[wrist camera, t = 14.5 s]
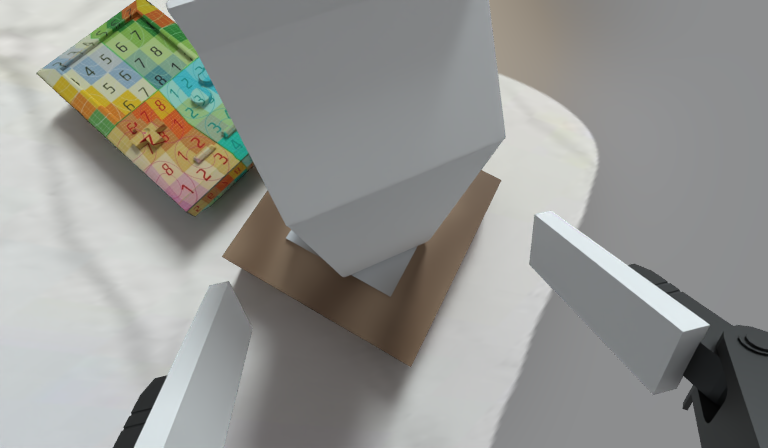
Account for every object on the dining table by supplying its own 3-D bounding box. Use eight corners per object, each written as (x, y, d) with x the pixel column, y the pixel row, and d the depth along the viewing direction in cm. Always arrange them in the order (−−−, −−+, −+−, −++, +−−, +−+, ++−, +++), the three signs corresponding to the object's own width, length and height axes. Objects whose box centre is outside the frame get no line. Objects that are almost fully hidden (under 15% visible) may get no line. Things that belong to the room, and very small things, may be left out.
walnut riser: (243, 264, 28) (219, 255, 24) (337, 122, 32) (331, 94, 28) (405, 358, 26) (411, 367, 22) (485, 197, 30) (502, 178, 26)
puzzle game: (179, 208, 25) (24, 65, 28) (210, 224, 29) (74, 100, 32) (287, 108, 27) (134, -14, 30) (300, 137, 32) (166, 29, 35)
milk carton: (430, 240, 24) (589, 28, 6) (343, 278, 23) (218, 166, 5) (392, 162, 26) (425, -193, 8) (309, 194, 25) (123, -118, 7)
